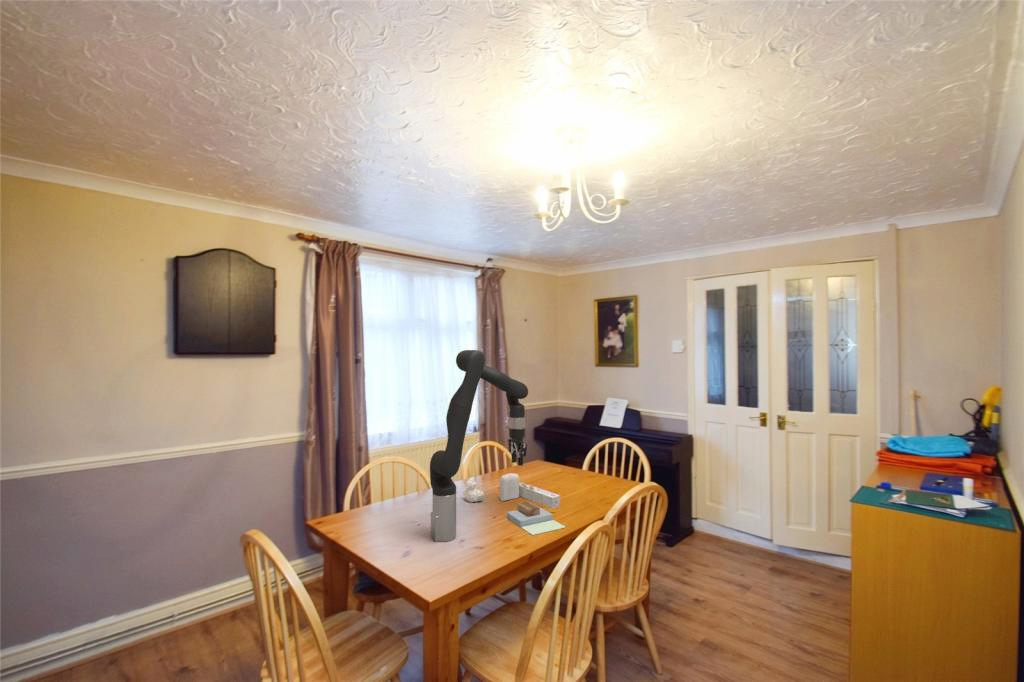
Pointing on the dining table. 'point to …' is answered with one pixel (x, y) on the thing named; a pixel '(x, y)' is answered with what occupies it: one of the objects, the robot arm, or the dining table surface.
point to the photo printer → (509, 486)
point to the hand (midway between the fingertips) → (517, 463)
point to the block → (528, 509)
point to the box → (539, 495)
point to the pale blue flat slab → (525, 521)
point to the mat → (543, 527)
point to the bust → (473, 492)
